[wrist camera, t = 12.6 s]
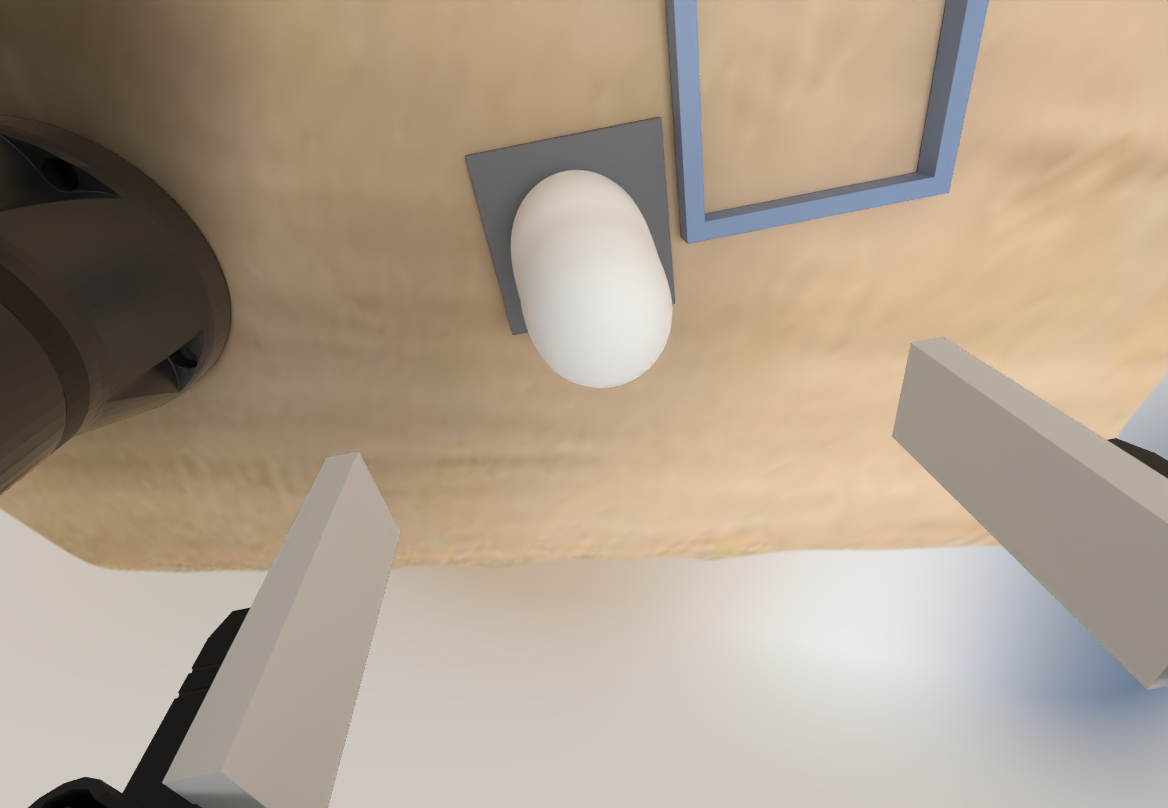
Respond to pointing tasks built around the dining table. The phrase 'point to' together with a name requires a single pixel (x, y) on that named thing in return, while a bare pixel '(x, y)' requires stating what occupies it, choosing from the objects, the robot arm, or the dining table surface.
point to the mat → (606, 151)
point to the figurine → (589, 280)
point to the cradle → (930, 179)
